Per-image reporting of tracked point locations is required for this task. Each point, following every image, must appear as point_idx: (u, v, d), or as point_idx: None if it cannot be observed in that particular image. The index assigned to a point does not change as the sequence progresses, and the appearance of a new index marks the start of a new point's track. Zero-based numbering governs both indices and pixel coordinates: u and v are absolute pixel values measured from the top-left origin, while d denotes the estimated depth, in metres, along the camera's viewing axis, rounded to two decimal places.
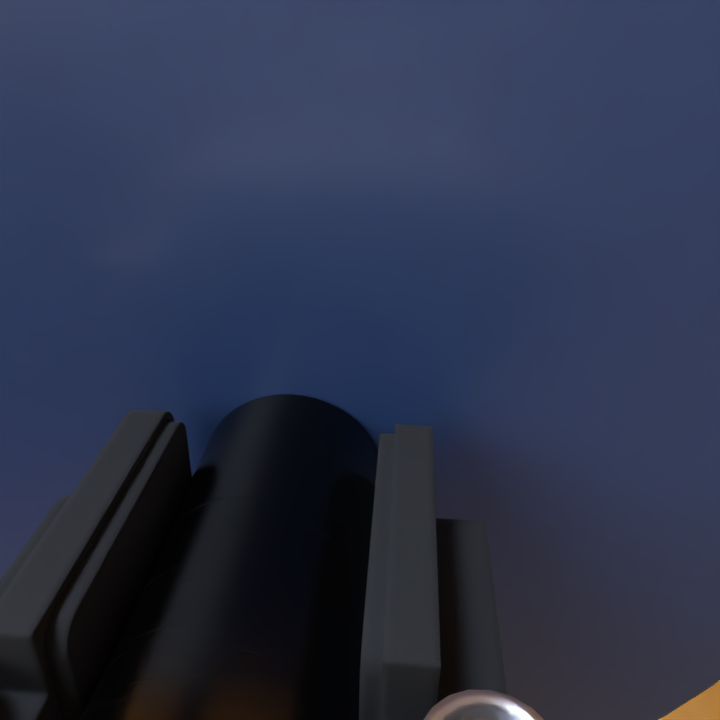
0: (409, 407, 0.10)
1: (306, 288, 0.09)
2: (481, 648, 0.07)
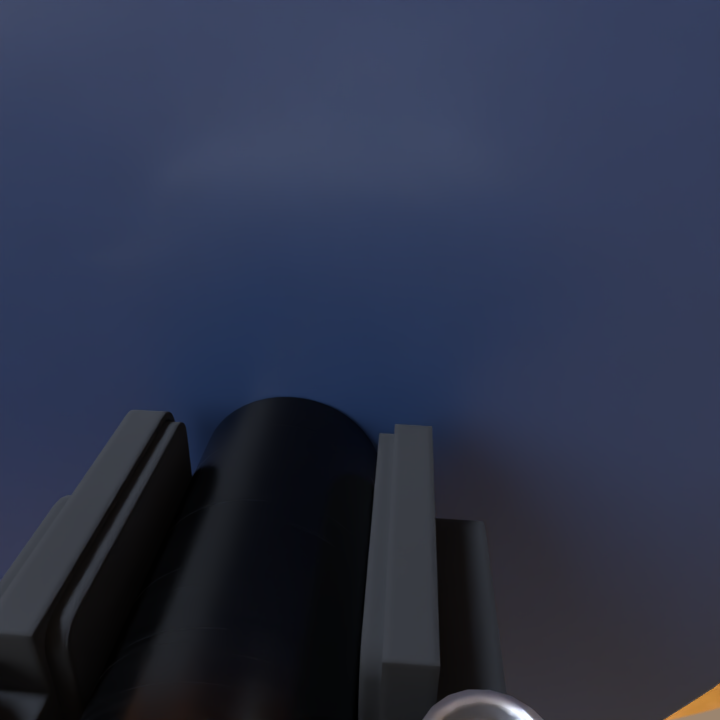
0: (408, 409, 0.10)
1: (305, 291, 0.09)
2: (481, 648, 0.07)
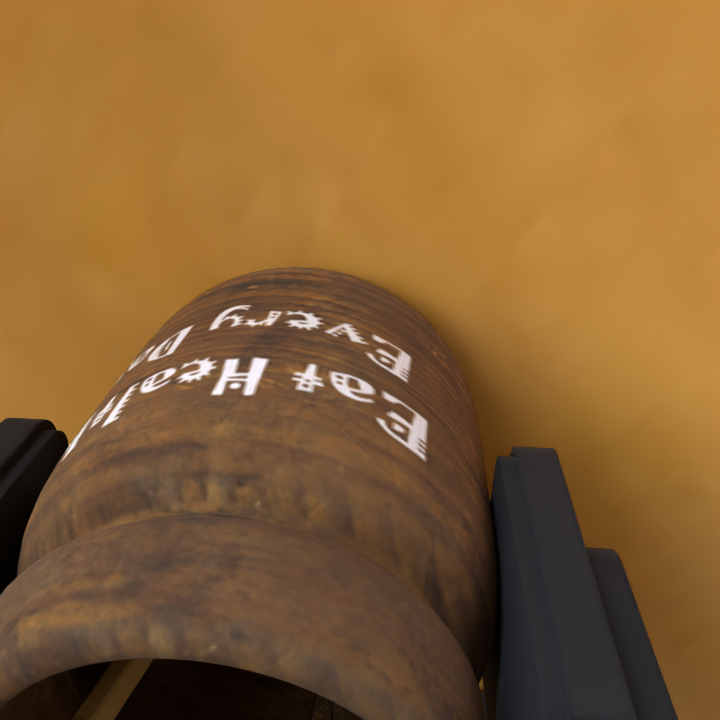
0: None
1: None
2: (647, 692, 0.07)
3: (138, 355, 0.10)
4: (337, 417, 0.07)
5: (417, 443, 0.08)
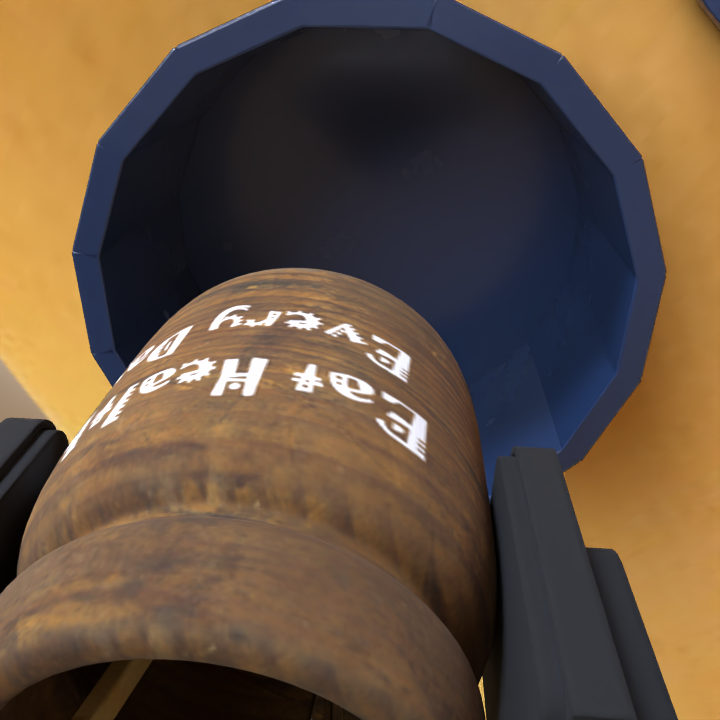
0: None
1: None
2: (647, 692, 0.07)
3: (138, 355, 0.10)
4: (338, 417, 0.07)
5: (416, 444, 0.08)
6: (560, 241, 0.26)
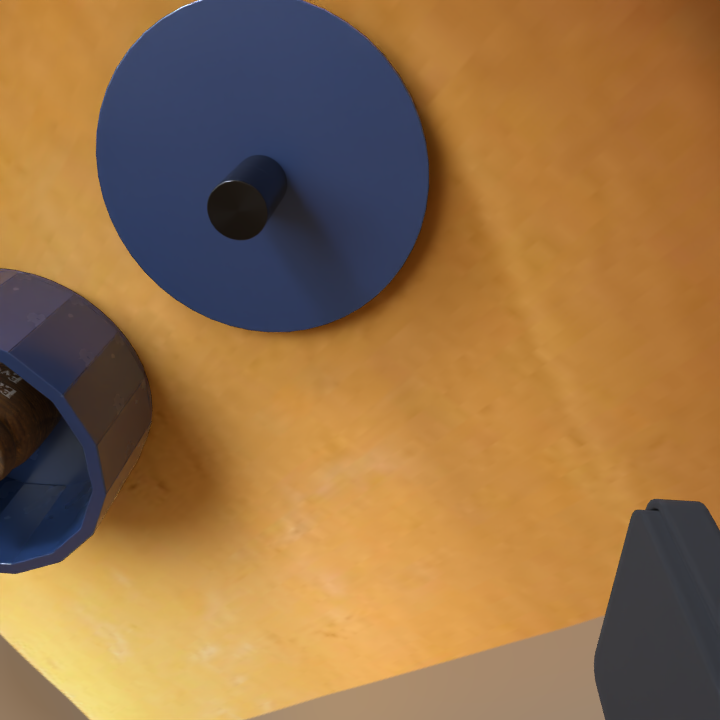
0: (293, 158, 0.35)
1: (262, 120, 0.35)
2: None
3: None
4: None
5: (8, 395, 0.40)
6: None
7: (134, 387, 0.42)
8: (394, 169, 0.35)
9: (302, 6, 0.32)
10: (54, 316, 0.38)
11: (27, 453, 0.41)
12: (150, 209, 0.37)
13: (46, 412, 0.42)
